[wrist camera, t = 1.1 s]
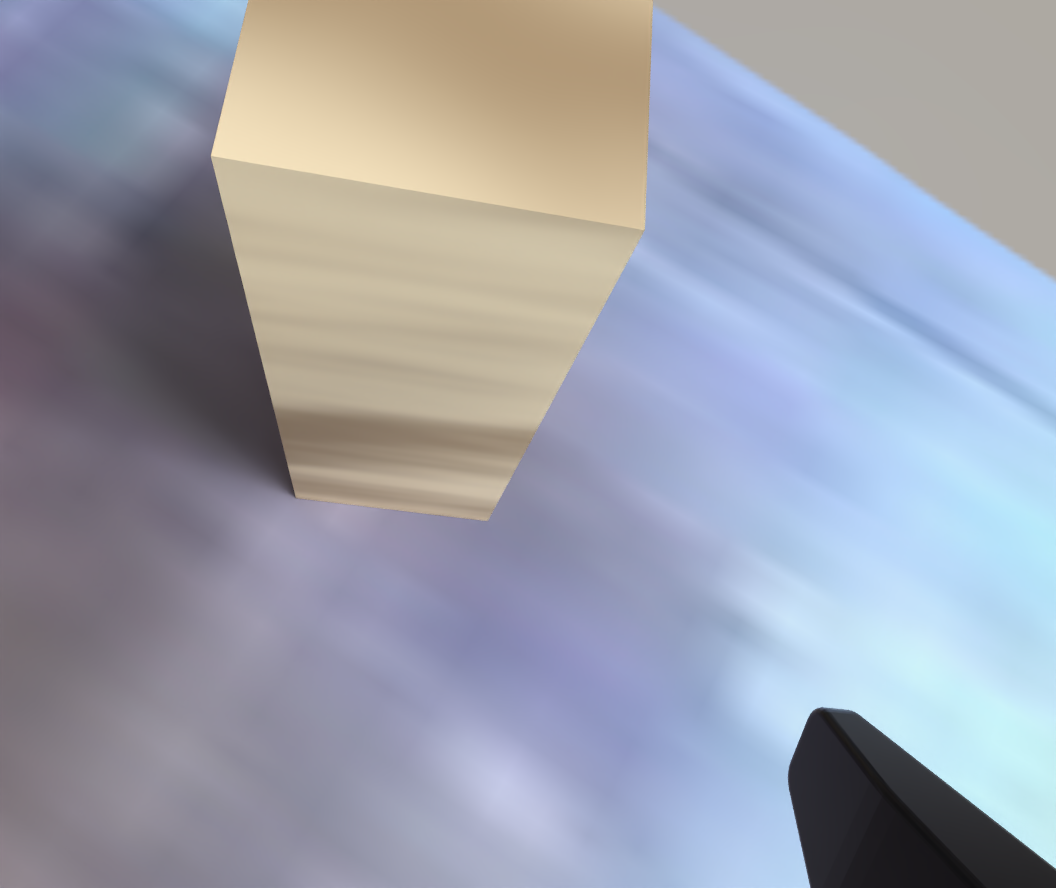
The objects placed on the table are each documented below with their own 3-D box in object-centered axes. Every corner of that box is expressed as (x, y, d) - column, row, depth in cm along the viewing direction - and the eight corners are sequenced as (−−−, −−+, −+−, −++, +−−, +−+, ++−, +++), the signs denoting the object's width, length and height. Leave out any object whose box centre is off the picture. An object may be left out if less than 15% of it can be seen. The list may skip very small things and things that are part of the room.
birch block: (487, 521, 24) (644, 229, 11) (296, 497, 23) (210, 156, 10) (503, 351, 25) (656, -79, 12) (325, 325, 25) (287, -160, 12)
